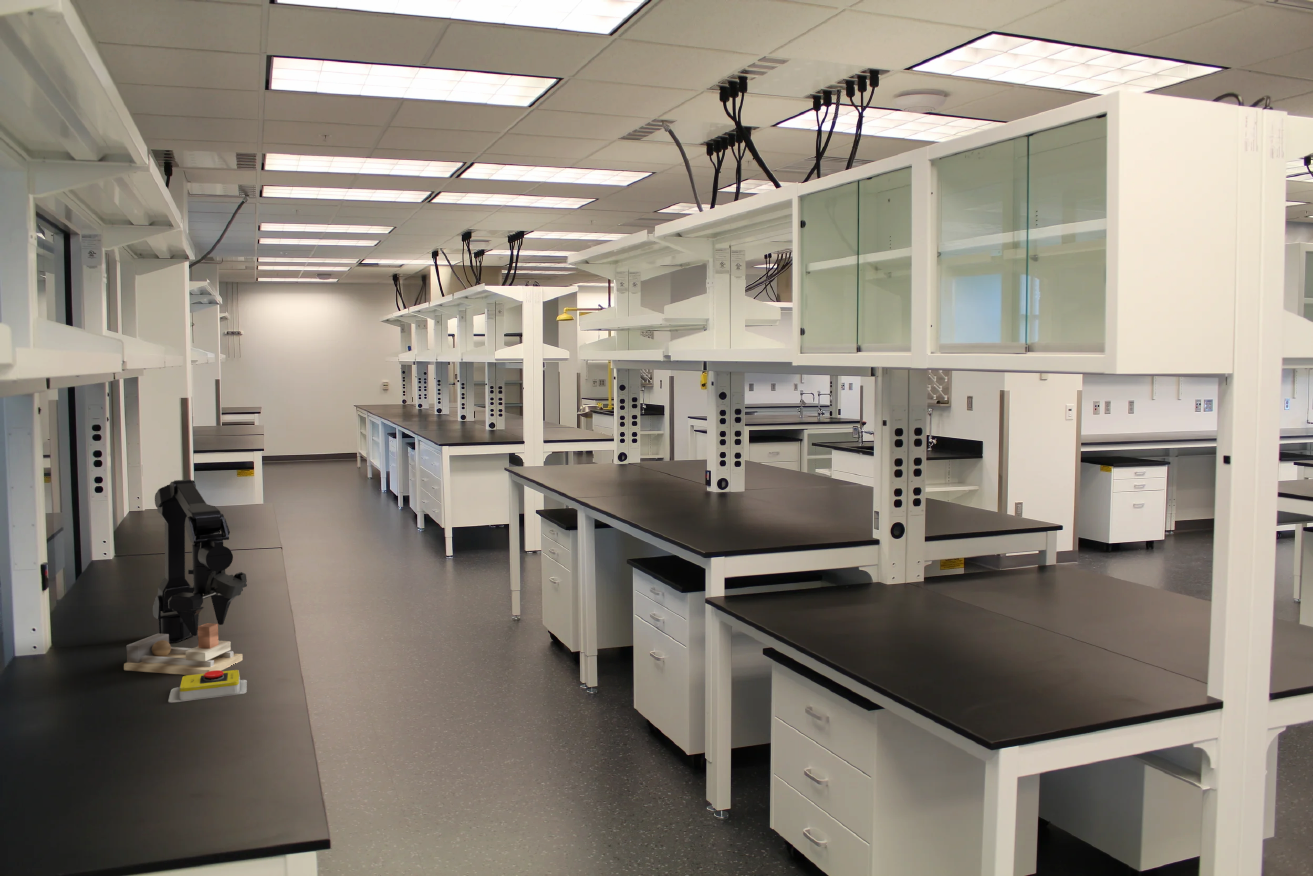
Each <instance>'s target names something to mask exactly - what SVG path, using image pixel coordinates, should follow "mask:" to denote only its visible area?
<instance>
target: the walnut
mask: <svg viewBox="0 0 1313 876" xmlns="http://www.w3.org/2000/svg"><path fill="white" fill-rule="evenodd" d="M170 643H171V642H167V641H165V640H160V641H157V642H156V643H155V644H154V645H153V646H152V653H153V655H154V656H160V657H165V656H167V655H168V654H169V653H170V651H171V647H172V645H171V644H170Z"/></svg>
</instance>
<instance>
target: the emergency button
mask: <svg viewBox="0 0 1313 876" xmlns="http://www.w3.org/2000/svg"><path fill="white" fill-rule="evenodd" d="M247 684H248V681H247V679H241V677H240V670H239V669H233V670H232V669H231V670H222V671H220V670H215V671H209V672H206V673H204V674H195V675H184V676H182V678H181V682H180V685H179V687H174V688H172V689H171V690H170V693H169V696H168V700H167V703H170V704H171V703H180V702H187V701H197V700H205V699H211V698H221V697H227V696H235V695H237V696H238V695H242V694H246V693H247V692H248V691H247V690H248V685H247Z"/></svg>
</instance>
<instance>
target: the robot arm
mask: <svg viewBox="0 0 1313 876" xmlns="http://www.w3.org/2000/svg"><path fill="white" fill-rule="evenodd" d="M154 505H155V507H156V508H157V510H156V511H157V513H158V514H159V516H160V517H161V518H162V520H163V521H164V578H163V579H162V581H161V582H160V584H159V585H158V586H157V595H156V596H155V599H154V602H153V605H152V615H153V618H155V619H157V620H158V633H159V634H169V643H175V642H176V643H179V642H181V640H182V641H184V640H186V638H187V639H189V638H191V637H193V636H194V637H196V636H197V635H198V626H199V617H200V615H199V614H200V612H201V611H202V610H203V609H204V608H205V607H204V606H202V605H203V604H204V600H205V599H208V598H211V599H210V600H211V602H212V606H213V610H214V614H215V618H216V619H215V620H216V621H217V624H218V626H223V625H224V624H225V621H226V616H227V614H228V610H229V607H230V605H231V603H232V601H233V600H234V599H235V598H236V597H239V596H241V594H242V592H243V591H244V588H247V587H248V583H247V581H248V579H247V573H244V572H242V571H239V572H237V573H235V574H227V573H226V569H228V568H229V567H230V566H231V565H232V563H233V560H234V559H233V558H234V556H233V552H232V551H231V549H230V548H228V547H227V546H225V545H224V541H228V540H230V528H229V525H228V523H227V519H226V518H225V515H224V514H223V513H221V511H220V510H219V508H217V507H216V506H215V505H211V504H207V502H206V500H205V499H204V498H203V496H202V494H201V493H200V491H199V490H198V489H197V487H196V481H195V480H194V479H193V480H192V479H177V480H176V479H174V481H170V482H169V484H167V485H164V486H162V487H160V488H159V489H158V490H157V491H156V493H154ZM186 533H187V536H188V538H189V541H190V543H191V560H192V567H191V568H190V569H188V571H187V573H188V575H192V585H191V584H190V583H189V582H188V580H187V579H186Z"/></svg>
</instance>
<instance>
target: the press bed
mask: <svg viewBox="0 0 1313 876" xmlns="http://www.w3.org/2000/svg"><path fill="white" fill-rule="evenodd" d="M160 640H165V641H167V642H169V634H159V632H158V633H156V634H153V635H151V636H148V637H145V638H142V639H140V640H137V641H135V642H132V643H129V644H127V645H126V662H125V663H123V670H124V671H130V672H144V673H156V674H157V673H159V674H170V675H184V676H187V675H195V674H204V673H206V672H209V671H215V670H220V671H225V670H226V669H227V668H229V667H231V665H232V666H234V665H235V663H236V664H238V663H240V662H242V661H244V660H243V653H234V651H233V650H229V651H227V652H225V653H222V654H220V655H218V656H216V657H214V658H212V659H209V660H207V661H194V660H186V651H188V650H190V649H192V648H190V647H176V646H171V651H170V653H169V654H168V655H167V656H165V657H160V656H154V655H153V653H152V646H153V645H154V644H155V643H156V642H157V641H160ZM169 643H170V642H169ZM233 664H234V665H233Z"/></svg>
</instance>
